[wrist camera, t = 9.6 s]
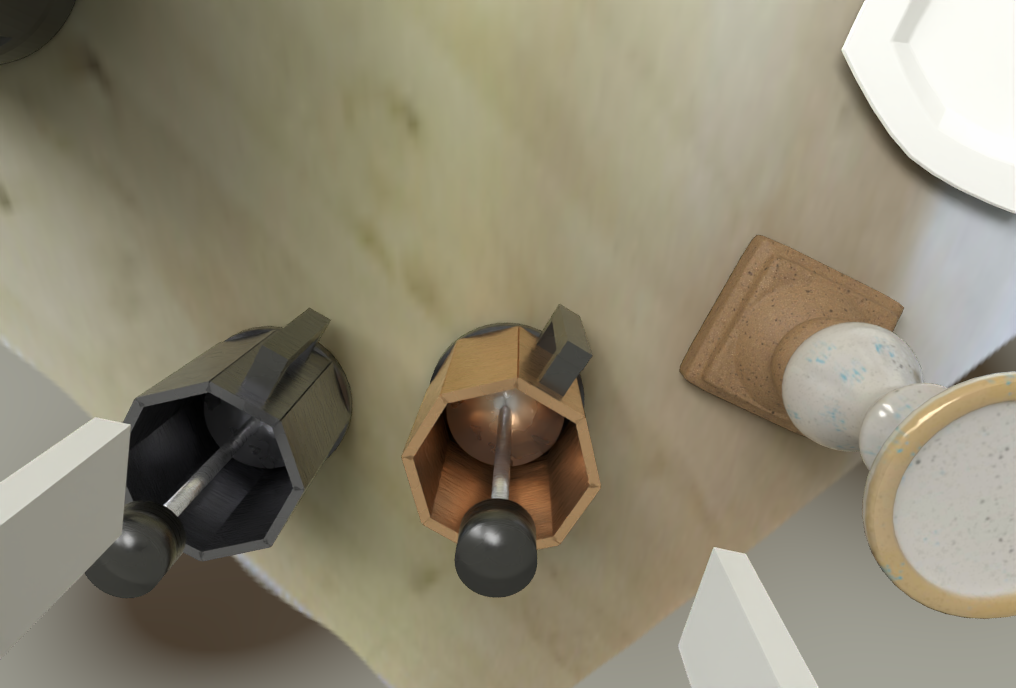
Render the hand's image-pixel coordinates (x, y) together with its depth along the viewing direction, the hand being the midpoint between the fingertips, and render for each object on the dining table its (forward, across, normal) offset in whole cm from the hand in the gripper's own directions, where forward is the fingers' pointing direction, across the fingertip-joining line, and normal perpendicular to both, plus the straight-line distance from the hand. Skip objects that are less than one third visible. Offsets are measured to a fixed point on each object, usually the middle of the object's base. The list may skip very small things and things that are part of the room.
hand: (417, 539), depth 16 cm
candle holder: (+34, +22, 0) cm, 40 cm away
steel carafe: (+34, -12, -12) cm, 38 cm away
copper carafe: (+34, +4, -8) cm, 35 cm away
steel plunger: (+32, -12, -13) cm, 37 cm away
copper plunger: (+32, +4, -9) cm, 33 cm away
